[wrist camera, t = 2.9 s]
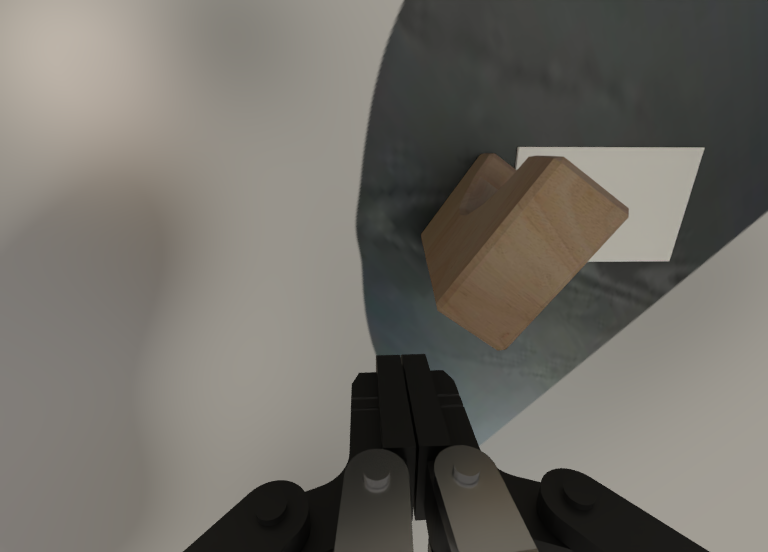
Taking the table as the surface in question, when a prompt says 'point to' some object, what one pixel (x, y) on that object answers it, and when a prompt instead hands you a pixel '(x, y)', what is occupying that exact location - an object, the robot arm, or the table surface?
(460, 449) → the robot arm
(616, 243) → the mat
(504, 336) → the decorative block
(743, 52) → the table surface
